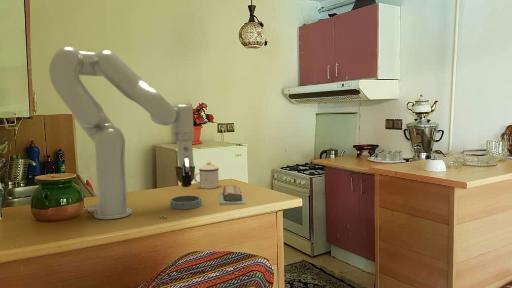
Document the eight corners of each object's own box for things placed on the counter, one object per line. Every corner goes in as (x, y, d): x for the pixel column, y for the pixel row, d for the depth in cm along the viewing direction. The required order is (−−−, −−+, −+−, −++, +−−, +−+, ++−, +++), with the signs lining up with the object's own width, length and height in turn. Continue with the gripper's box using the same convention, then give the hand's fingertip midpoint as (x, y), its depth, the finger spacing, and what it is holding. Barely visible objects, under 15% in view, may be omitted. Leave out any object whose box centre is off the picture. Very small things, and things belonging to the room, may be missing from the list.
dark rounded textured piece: (198, 184, 154) (197, 164, 153) (193, 188, 147) (192, 167, 146) (179, 184, 155) (178, 164, 154) (173, 188, 148) (172, 167, 147)
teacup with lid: (214, 184, 190) (213, 160, 189) (222, 187, 182) (221, 162, 181) (190, 187, 184) (189, 162, 183) (197, 190, 176) (197, 165, 175)
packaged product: (219, 184, 169) (242, 183, 170) (219, 195, 169) (242, 194, 170) (219, 194, 151) (245, 193, 152) (219, 206, 151) (245, 205, 152)
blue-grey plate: (171, 210, 144) (171, 204, 144) (168, 203, 156) (168, 196, 155) (204, 207, 148) (203, 201, 147) (199, 200, 159) (198, 194, 159)
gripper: (197, 138, 142) (199, 187, 144) (190, 134, 158) (192, 178, 160) (175, 139, 140) (178, 189, 142) (171, 135, 156) (173, 180, 158)
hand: (185, 183), depth 151 cm, fingers closed on dark rounded textured piece, 6 cm apart
